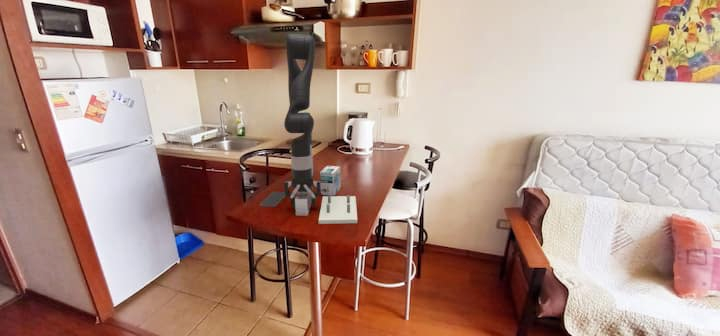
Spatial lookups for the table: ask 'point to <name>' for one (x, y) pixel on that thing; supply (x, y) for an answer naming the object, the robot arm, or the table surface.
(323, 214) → the peg board
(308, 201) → the plate
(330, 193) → the light bulb box
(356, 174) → the table surface
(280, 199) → the smartphone
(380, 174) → the table surface
